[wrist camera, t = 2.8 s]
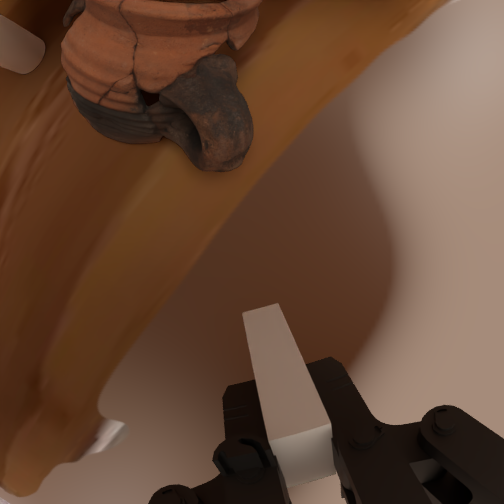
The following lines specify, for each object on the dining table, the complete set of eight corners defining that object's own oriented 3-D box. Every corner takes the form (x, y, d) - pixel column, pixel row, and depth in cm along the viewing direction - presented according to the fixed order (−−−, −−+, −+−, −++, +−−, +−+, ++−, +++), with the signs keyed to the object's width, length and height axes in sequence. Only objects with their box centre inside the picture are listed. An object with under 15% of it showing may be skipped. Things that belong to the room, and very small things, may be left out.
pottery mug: (48, 79, 13) (33, -34, 5) (180, 28, 17) (214, -69, 9) (147, 245, 14) (164, 159, 6) (289, 155, 17) (381, 68, 10)
